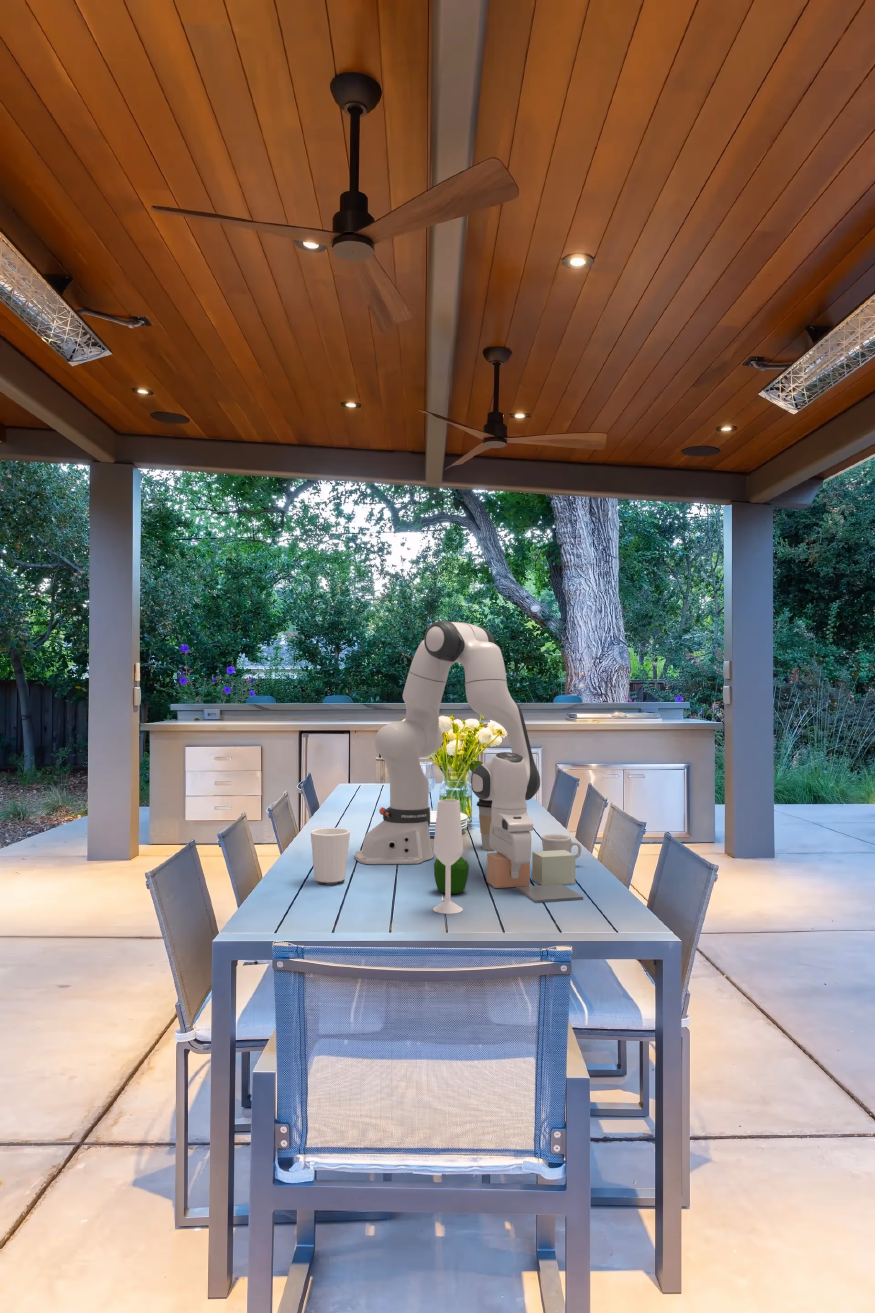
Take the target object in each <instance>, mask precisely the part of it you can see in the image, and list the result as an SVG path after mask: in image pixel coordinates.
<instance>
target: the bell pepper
mask: <svg viewBox="0 0 875 1313" xmlns="http://www.w3.org/2000/svg"><path fill="white" fill-rule="evenodd" d="M433 864H434V865H433V874H434V875H433V876H434V880H435V881H434V882H435V884H436V889H437V890H438V891H439V892H440V893H443V894H445V874H446V866H445V865H444V864H442V863H441V862H440V861H439V860H438V859H437V858H435V861H434V863H433ZM469 867H470V865H469V863H468V861H467V860H466V859H464V857H462V856H461V857H460V858H459V859H458V860H457V861H456V862H455V863H454V864H453V865H451V894H461V893H463V892H464V890H465V889H466V885H467V882H468V878H469V872H470V869H469Z"/></svg>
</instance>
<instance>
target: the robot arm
mask: <svg viewBox="0 0 875 1313" xmlns="http://www.w3.org/2000/svg"><path fill="white" fill-rule="evenodd" d="M456 663H458V664H461V665H462V667H463V670H464V679H465V680H464V681H465V682H464V685H465V695H466V701H467V703H468V705H469V707H470V708H471V709H472V711H474V712H475V713H476V714H478V715H479V716H481V717H482V718H485V719H488V720H490V721H493V722H495V723H497V724H499V725H500V726H502V728H503V729H504V730H505V731H506V734H507V736H508V741H509V746H510V749H511V752H508V751H503V752H498V753H495V754H494V756H493V758H492V759H491V760H490V761H488V762H485V763H482V764H478V765H477V766H476V767H475V768H474V769H473V771H472V773H471V777H470V786H471V787H470V788H471V791H472V793H473V794H474V795H475V797H477V798H478V800H479V799H483V800H492V808H491V824H490V835H489V844H490V847H491V848H492V849H494V850H495V851H496V853H500V854H502V855H503V856H505V857H506V858H508V859H509V860H511V864H512V866H511V870H510V877H511V878H518V877H519V869H520V866H521V864H525V863H528V862H529V860H530V861H531V856H532V833H531V832H532V831H533V830H534V823H533V821H532V820H531V818H530V816H529V814H528V810H527V809H528V807H527V801H529V800H531V799H532V798H534V796H535V795H536V794H537V793H538V791H539V789H540V787H541V776H540V773H539V770H538V768H537V764H536V763H535V759H534V755H533V752H532V747H531V744H530V739H529V734H528V730H527V725H526V722H525V718H524V714H523V711H522V709H521V706H520V705H519V703H518V702H516V701H514V699H513V698H512V696H511V693H510V691H509V689H508V683H507V682H508V681H507V673H506V665H505V662H504V657H503V654H502V651H501V648H500V647H499V645H497V644H495V638H494V636H493V634H492V633H491V632H490V631H489V630H488V629H486V628H485V627H483V626H481V625H474V624H472V623H467V622H464V621H463V622H461V621H460V622H459V621H458V622H457V621H449V620H440V621H436V622H433V623H431V625H429V626H428V628H427V629H426V631H425V633H424V639H423V640H421V641H420V643H419V645H418V647H417V649H416V651H415V654H414V656H413V659H412V662H411V664H410V667H409V671H408V674H407V678H406V681H405V685H404V688H403V691H402V692H403V693H402V699H403V702H404V703H405V711H406V712H405V718H404V720H401V721H393V722H391V723H388V724H385V725H384V726H382V727H381V728H379V730H378V731H377V733H376V735H375V738H374V739H375V740H374V746H375V748H376V751H377V753H378V754H379V756H381V757H382V759H383V761H384V762H385V763H384V764H385V765H386V766H385V767H386V769H387V772H388V774H387V775H388V779H389V801H390V802H389V806H388V807H387V808H385V807H384V806H383V807H380V808H379V810H378V811H379V812H378V813H379V814H380V815H382V821H381V822H380V823H378V824H377V825H376V826H375V827H373V828H372V829H371V830H369V831H368V832H367V833H366V834H365V836H364V839H363V844H362V848H361V850H357V851H356V852H355V853H354V859H355V860H356V861H357V862H359V863H361V864H365V865H400V864H401V865H405V864H406V865H409V864H411V865H414V864H415V865H416V864H421V863H423V862H425V861H429V860H431V859H433V858H434V856H435V854H434V851H433V848H432V842H431V836H430V826H431V810H430V809H431V807H430V806H429V795H430V794H429V789H430V788H429V787H430V786H429V784H430V783H429V779H428V778H427V776H426V775H425V774H424V772H423V769H422V765H421V760H420V758H425V757H428V756H430V755H432V754H434V753H435V752H437V751H438V750H440V748H441V747H442V744H443V740H444V737H443V732H442V730H441V727H440V707H441V703H442V699H443V695H444V691H445V687H446V684H447V680H448V676H449V673H450V670H451V667H452V666H453V665H454V664H456ZM495 851H494V852H495Z"/></svg>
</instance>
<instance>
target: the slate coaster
mask: <svg viewBox="0 0 875 1313" xmlns="http://www.w3.org/2000/svg"><path fill="white" fill-rule="evenodd" d="M515 888H516V891H518V892H519V893H520V894H522V895H524V896H525V895H526V896H527V897H526V896H525V897H526V898H528V899H529V900H531V901H532V900H533V903H535V904H539V903H549V902H550V903H553V902H566V901H578V900H581V901H582V900H584V896H583V895H581V894H579V893H578V892H576V891H575V890H573V889H571V888H570V887H568V886H567V885H565V884H555V885H540V884H539V885H530V886H522V887H515Z"/></svg>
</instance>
